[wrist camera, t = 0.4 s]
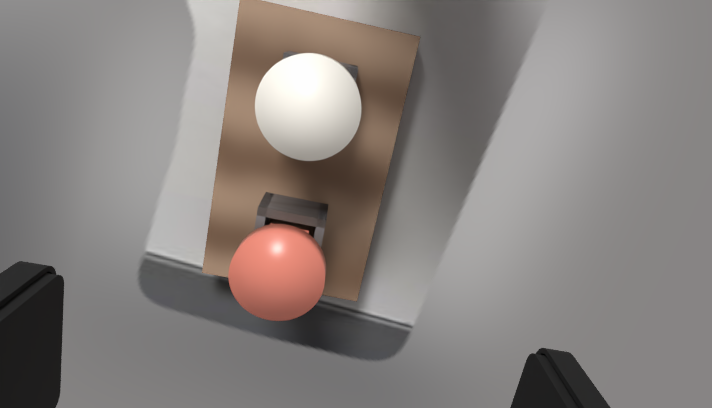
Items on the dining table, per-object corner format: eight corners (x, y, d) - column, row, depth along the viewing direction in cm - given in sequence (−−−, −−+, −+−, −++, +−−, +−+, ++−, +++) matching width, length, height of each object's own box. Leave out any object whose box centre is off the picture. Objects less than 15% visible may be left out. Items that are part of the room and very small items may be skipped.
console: (248, -1, 37) (228, -9, 30) (414, 36, 38) (428, 36, 31) (211, 256, 42) (188, 294, 36) (356, 284, 43) (357, 325, 37)
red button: (251, 197, 34) (235, 224, 29) (335, 214, 35) (333, 243, 30) (239, 274, 36) (222, 311, 31) (319, 288, 36) (315, 328, 32)
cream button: (277, 42, 31) (263, 43, 26) (368, 62, 32) (371, 66, 27) (262, 132, 33) (247, 149, 28) (348, 150, 34) (349, 170, 29)
